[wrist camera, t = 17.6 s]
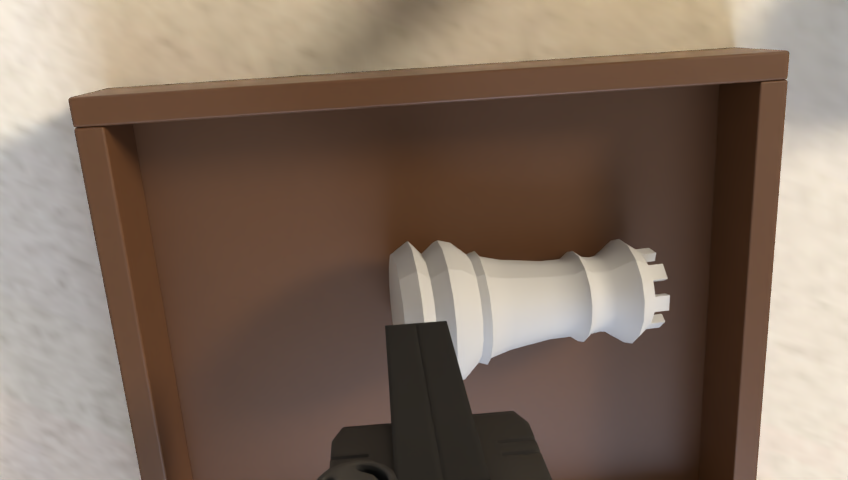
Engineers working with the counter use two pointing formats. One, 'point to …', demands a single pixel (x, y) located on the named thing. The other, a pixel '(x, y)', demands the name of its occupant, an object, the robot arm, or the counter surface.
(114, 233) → the tray
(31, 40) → the counter surface
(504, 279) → the rook chess piece
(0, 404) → the counter surface
